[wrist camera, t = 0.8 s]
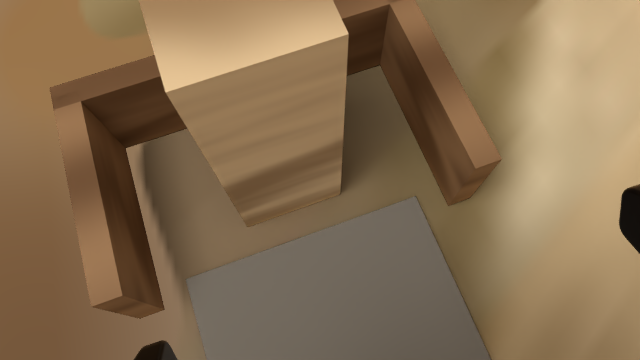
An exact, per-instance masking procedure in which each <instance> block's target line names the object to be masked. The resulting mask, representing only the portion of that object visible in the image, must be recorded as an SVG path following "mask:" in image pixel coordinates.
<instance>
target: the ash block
mask: <svg viewBox="0 0 640 360" xmlns="http://www.w3.org/2000/svg"><path fill="white" fill-rule="evenodd" d="M139 2H140V6H141V9H142V13H143V16H144V20H145V23H146V27H147V30H148V34H149V37H150V40H151V44H152V47H153V51H154V54H155V58H156V61H157V65H158V68H159V72H160V75H161V79H162V82H163V86H164V89H165V92H166V94H167V96H168V97H169V99H170V101H171V102H172V104H173V106H174V107H175V109H176V110H177V112H178V114H179V115H180V117H181V119H182V120H183V122H184V124H185V125H186V127H187V129H188V130H189V132H190V133H191V135H192V137H193V138H194V140H195V142H196V143H197V145H198V147H199V148H200V150H201V152H202V153H203V155H204V156H205V158H206V160H207V161H208V163H209V165H210V166H211V168H212V170H213V171H214V173H215V174H216V176H217V178H218V179H219V181H220V183H221V184H222V186H223V188H224V189H225V191H226V193H227V194H228V196H229V197H230V199H231V201H232V202H233V204H234V206H235V207H236V209H237V211H238V212H239V214H240V215H241V217H242V219H243V220H244V222H245V224H246V225H247V227H250V226H252V225H255V224H258V223H261V222H264V221H267V220H269V219H272V218H275V217H278V216H281V215H283V214H286V213H289V212H292V211H295V210H298V209H300V208H303V207H306V206H309V205H312V204H315V203H317V202H320V201H323V200H326V199H329V198H331V197H334V196H337V195H340V191H341V172H342V153H343V134H344V114H345V95H346V76H347V57H348V38H349V34H348V31H347V29H346V27H345V25H344V23H343V21H342V19H341V17H340V14H339V12H338V10H337V8H336V6H335V4H334V2H333V0H139Z"/></svg>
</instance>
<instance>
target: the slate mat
mask: <svg viewBox="0 0 640 360" xmlns="http://www.w3.org/2000/svg"><path fill="white" fill-rule="evenodd" d="M186 282H187V286H188V290H189V294H190V297H191V301H192V305H193V309H194V313H195V316H196V320H197V324H198V328H199V332H200V335H201V339H202V343H203V347H204V351H205V354H206V358H207V360H491V358H490V356H489V354H488V352H487V350H486V347H485V345H484V343H483V341H482V339H481V337H480V334H479V332H478V330H477V328H476V326H475V324H474V321H473V319H472V317H471V315H470V313H469V311H468V309H467V306H466V304H465V302H464V300H463V298H462V296H461V293H460V291H459V289H458V287H457V285H456V283H455V280H454V278H453V276H452V274H451V272H450V270H449V267H448V265H447V263H446V261H445V259H444V257H443V254H442V252H441V250H440V248H439V246H438V244H437V241H436V239H435V237H434V235H433V233H432V231H431V228H430V226H429V224H428V222H427V220H426V218H425V216H424V213H423V211H422V209H421V207H420V205H419V203H418V200H417V198H416V196H415V197H412V198H409V199H406V200H403V201H401V202H398V203H395V204H392V205H390V206H387V207H384V208H381V209H379V210H376V211H373V212H370V213H367V214H365V215H362V216H359V217H356V218H354V219H351V220H348V221H345V222H343V223H340V224H337V225H334V226H331V227H329V228H326V229H323V230H320V231H318V232H315V233H312V234H309V235H307V236H304V237H301V238H298V239H295V240H293V241H290V242H287V243H284V244H282V245H279V246H276V247H273V248H271V249H268V250H265V251H262V252H259V253H257V254H254V255H251V256H248V257H246V258H243V259H240V260H237V261H235V262H232V263H229V264H226V265H223V266H221V267H218V268H215V269H212V270H210V271H207V272H204V273H201V274H199V275H196V276H193V277H190V278H187V279H186Z"/></svg>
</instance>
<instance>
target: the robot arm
mask: <svg viewBox="0 0 640 360" xmlns="http://www.w3.org/2000/svg"><path fill="white" fill-rule="evenodd" d="M619 225H620V229H621V232H622V233H623V235H624V236H625V238H626V239H627V240H628V241H629V242H630V243H631V244H632V246H633V247H634V248H635V249H636V250H637V251H638V252H639V253H640V184H639V185H636V186H633V187H630V188H627V189H626V190H624V192H623V194H622V199H621V209H620V219H619ZM134 360H177V358H176V356H175V354H174V352H173V350H172V348H171V347H170V345H169V344H168V343H167V342H166V341H159V342H156V343H153V344H150V345H146V346H144V347H143V348H142V349H141V350H140V351H139V353H138V354H137V356H136V357H135V359H134Z"/></svg>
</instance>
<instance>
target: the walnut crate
mask: <svg viewBox="0 0 640 360" xmlns="http://www.w3.org/2000/svg"><path fill="white" fill-rule="evenodd" d="M333 2H334V4H335V6H336V8H337V10H338V12H339V14H340V17H341V19H342V21H343V23H344V25H345V27H346V29H347V31H348V34H349V38H348V57H347V75H350V74H353V73H356V72H359V71H362V70H365V69H368V68H371V67H374V66H377V65H380V66H381V68H382V70H383V72H384V74H385V76H386V78H387V80H388V82H389V84H390V86H391V88H392V91H393V93H394V95H395V97H396V99H397V101H398V103H399V105H400V107H401V109H402V111H403V113H404V115H405V117H406V119H407V121H408V124H409V126H410V128H411V130H412V132H413V134H414V136H415V138H416V140H417V142H418V144H419V146H420V148H421V150H422V152H423V154H424V157H425V159H426V161H427V163H428V165H429V167H430V169H431V171H432V173H433V175H434V177H435V179H436V181H437V183H438V185H439V187H440V190H441V192H442V194H443V196H444V198H445V200H446V202H447V204H448V206H449V205H452V204H455V203H457V202H460V201H463V200H465V199H468V198H470V197H471V196H472V195H473V193H474V192H475V191H476V190H477V189H478V187H479V186H480V185H481V184H482V183H483V181H484V180H485V179H486V178H487V177H488V175H489V174H490V173H491V172H492V171H493V169H494V168H495V167H496V166H497V164H498V163H499V162H500V161H501V160H502V158H501V157H500V155H499V153H498V151H497V149H496V147H495V146H494V144H493V142H492V140H491V138H490V136H489V135H488V133H487V131H486V129H485V127H484V125H483V124H482V122H481V120H480V118H479V116H478V114H477V113H476V111H475V109H474V107H473V105H472V103H471V102H470V100H469V98H468V96H467V94H466V93H465V91H464V89H463V87H462V85H461V83H460V82H459V80H458V78H457V76H456V74H455V72H454V71H453V69H452V67H451V65H450V63H449V61H448V60H447V58H446V56H445V54H444V52H443V50H442V49H441V47H440V45H439V43H438V41H437V39H436V38H435V36H434V34H433V32H432V30H431V28H430V27H429V25H428V23H427V21H426V19H425V17H424V16H423V14H422V12H421V10H420V8H419V6H418V5H417V3H416V1H415V0H333ZM50 92H51V98H52V102H53V108H54V113H55V119H56V124H57V129H58V134H59V140H60V145H61V150H62V155H63V161H64V166H65V171H66V177H67V181H68V187H69V192H70V198H71V203H72V208H73V213H74V218H75V224H76V229H77V235H78V239H79V245H80V250H81V255H82V261H83V266H84V271H85V277H86V282H87V287H88V292H89V297H90V302H91V307H94V308H98V309H102V310H106V311H111V312H115V313H119V314H123V315H128V316H131V317H135V318H143V317H146V316H148V315H151V314H154V313H156V312H159V311H162V310H164V305H163V301H162V297H161V293H160V288H159V284H158V280H157V276H156V272H155V268H154V264H153V260H152V256H151V252H150V248H149V243H148V239H147V235H146V231H145V227H144V223H143V218H142V214H141V210H140V206H139V202H138V198H137V194H136V190H135V185H134V181H133V177H132V173H131V169H130V165H129V161H128V157H127V153H126V148H127V147H131V146H134V145H137V144H140V143H143V142H146V141H149V140H152V139H155V138H158V137H161V136H164V135H167V134H170V133H173V132H176V131H179V130H182V129H186V128H187V127H186V125H185V124H184V122H183V120H182V119H181V117H180V115H179V114H178V112H177V110H176V109H175V107H174V106H173V104H172V102H171V101H170V99H169V97H168V96H167V94H166V92H165V89H164V86H163V82H162V79H161V75H160V72H159V68H158V65H157V61H156V58H155V55H153V56H150V57H147V58H144V59H141V60H137V61H135V62H131V63H127V64H124V65H121V66H118V67H115V68H112V69H108V70H105V71H102V72H98V73H95V74H92V75H89V76H86V77H83V78H80V79H76V80H73V81H70V82H67V83H63V84H60V85H57V86H54V87H50Z"/></svg>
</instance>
